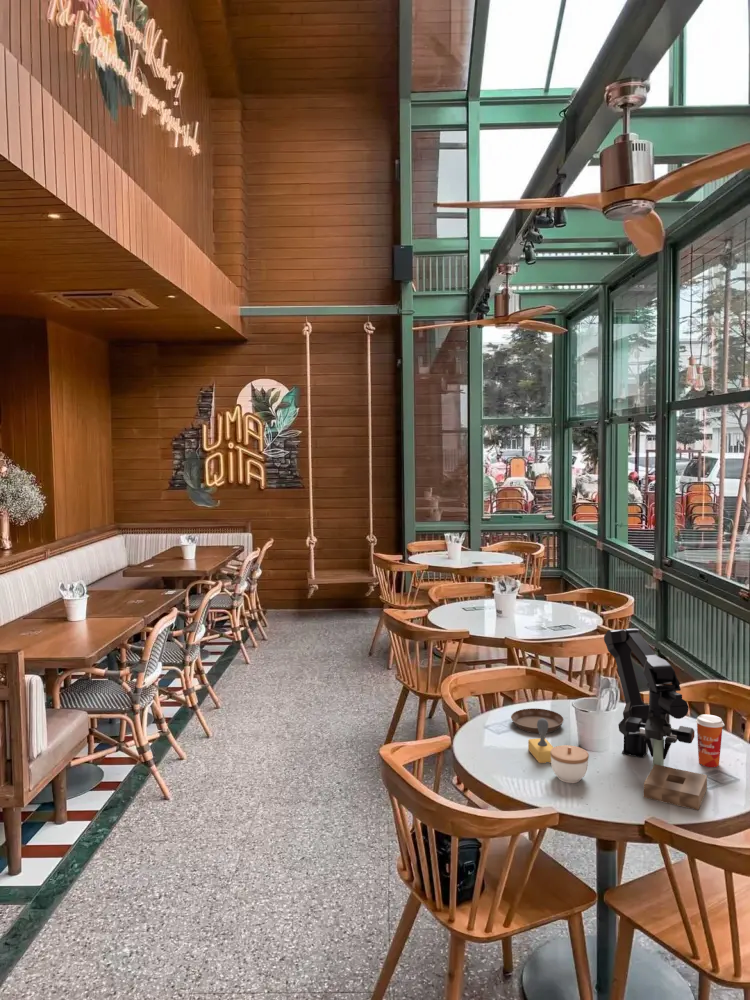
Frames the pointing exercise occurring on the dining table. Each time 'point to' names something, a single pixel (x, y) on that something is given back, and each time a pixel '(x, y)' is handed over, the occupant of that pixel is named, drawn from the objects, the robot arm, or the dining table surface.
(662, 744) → the peg
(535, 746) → the rubber stamp
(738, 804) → the dining table surface
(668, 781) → the hole block
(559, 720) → the plant saucer
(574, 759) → the lidded jar
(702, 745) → the paper cup
